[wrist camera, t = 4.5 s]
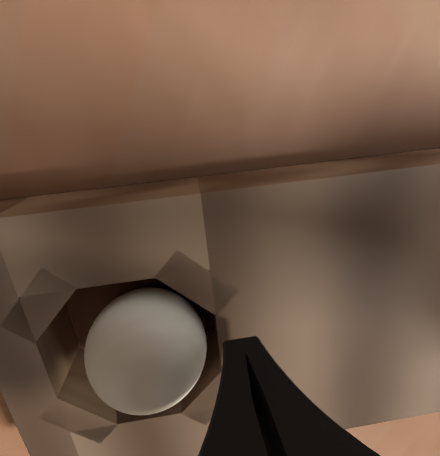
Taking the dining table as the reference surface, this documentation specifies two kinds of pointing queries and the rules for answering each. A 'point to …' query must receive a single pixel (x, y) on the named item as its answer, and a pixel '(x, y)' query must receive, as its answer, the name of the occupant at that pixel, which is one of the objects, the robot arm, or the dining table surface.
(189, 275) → the walnut board
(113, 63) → the dining table surface
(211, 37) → the dining table surface
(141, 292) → the off-white ball
